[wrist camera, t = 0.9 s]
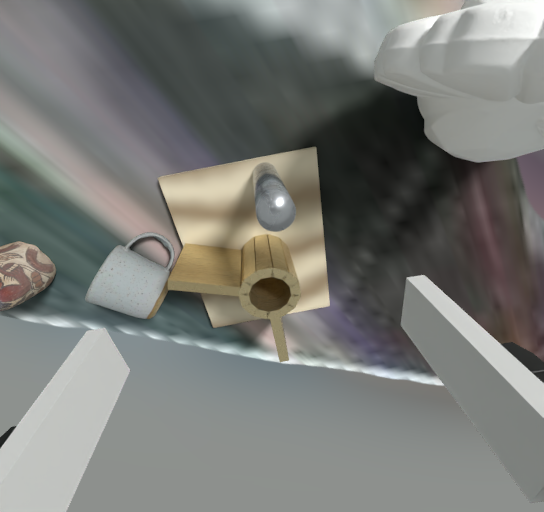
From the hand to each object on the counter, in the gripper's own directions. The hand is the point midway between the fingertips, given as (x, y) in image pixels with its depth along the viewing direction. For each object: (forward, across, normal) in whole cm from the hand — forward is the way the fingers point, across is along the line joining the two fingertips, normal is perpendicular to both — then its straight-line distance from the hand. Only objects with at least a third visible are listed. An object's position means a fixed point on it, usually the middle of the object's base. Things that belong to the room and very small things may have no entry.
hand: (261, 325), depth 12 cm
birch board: (+25, -1, -8) cm, 26 cm away
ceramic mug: (+25, -17, -8) cm, 31 cm away
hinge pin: (+24, +2, +2) cm, 24 cm away
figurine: (+25, -32, -5) cm, 41 cm away
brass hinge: (+24, -3, -13) cm, 27 cm away
